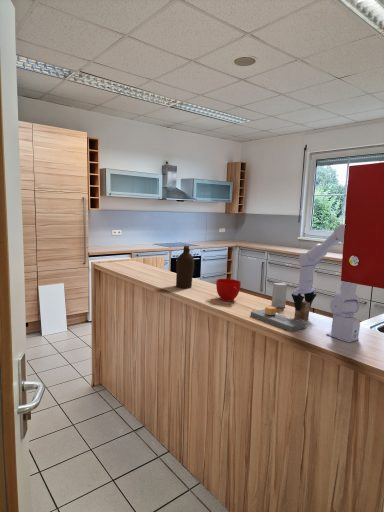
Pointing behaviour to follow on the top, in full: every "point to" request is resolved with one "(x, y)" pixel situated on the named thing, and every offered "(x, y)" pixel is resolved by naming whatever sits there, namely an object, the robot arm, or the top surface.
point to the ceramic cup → (228, 288)
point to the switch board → (279, 320)
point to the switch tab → (270, 310)
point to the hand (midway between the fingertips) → (302, 309)
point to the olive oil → (184, 269)
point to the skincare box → (279, 295)
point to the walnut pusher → (303, 311)
